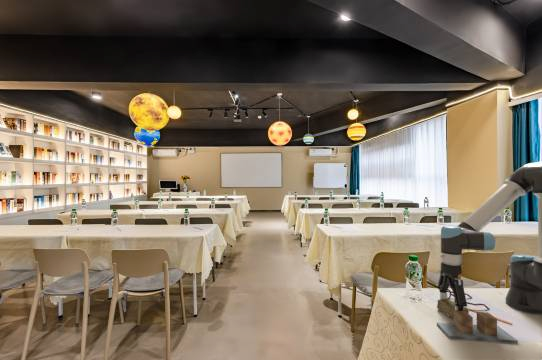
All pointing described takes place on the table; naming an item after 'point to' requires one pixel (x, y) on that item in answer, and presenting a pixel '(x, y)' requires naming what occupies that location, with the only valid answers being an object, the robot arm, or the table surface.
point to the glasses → (467, 302)
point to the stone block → (448, 307)
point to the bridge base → (475, 328)
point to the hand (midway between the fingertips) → (451, 314)
